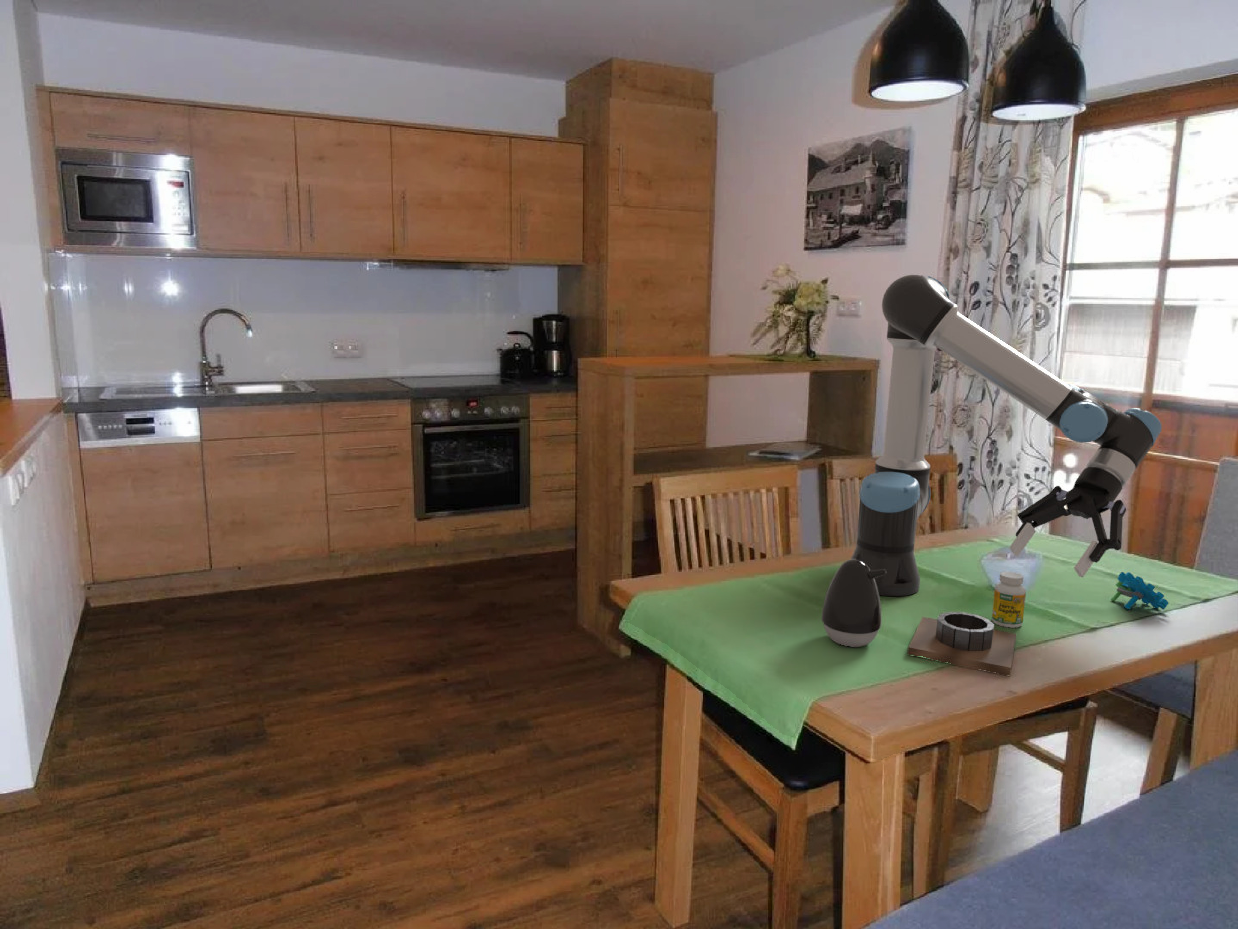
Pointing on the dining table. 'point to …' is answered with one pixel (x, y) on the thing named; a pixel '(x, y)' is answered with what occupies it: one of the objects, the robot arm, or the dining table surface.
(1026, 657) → the dining table surface
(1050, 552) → the dining table surface
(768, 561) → the dining table surface
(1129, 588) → the gear
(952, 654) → the board
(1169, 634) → the dining table surface
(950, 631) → the collar
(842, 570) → the pump dispenser
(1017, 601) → the supplement bottle
